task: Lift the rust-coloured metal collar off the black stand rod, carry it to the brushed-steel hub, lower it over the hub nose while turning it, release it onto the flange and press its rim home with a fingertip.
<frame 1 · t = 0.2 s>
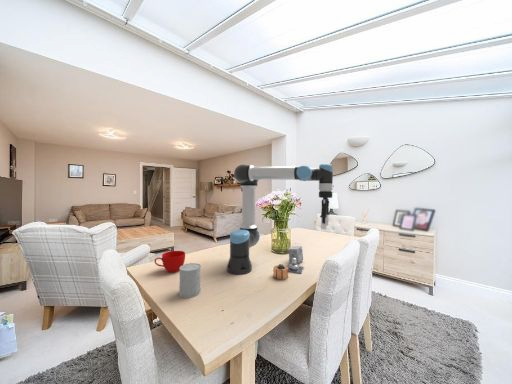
hand: (324, 227, 123), 28 cm above the table, fingers open, 13 cm apart
grey cylinder: (190, 293, 100), on the table
ceramic cup: (170, 271, 126), on the table
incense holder: (295, 262, 144), on the table
hub: (294, 269, 130), on the table
collar: (280, 276, 120), on the table
stand rod: (280, 276, 120), on the table
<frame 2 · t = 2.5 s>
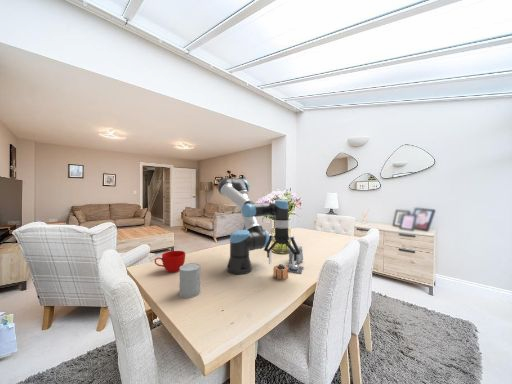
hand: (281, 265, 119), 7 cm above the table, fingers open, 13 cm apart
nothing on the table moved.
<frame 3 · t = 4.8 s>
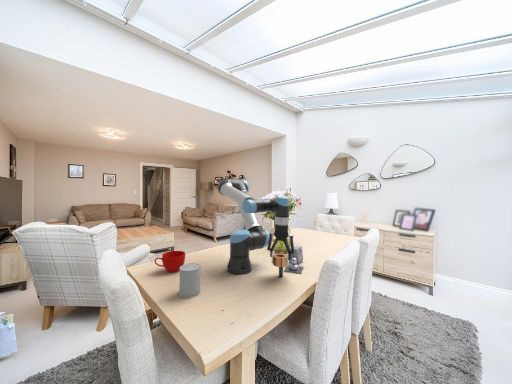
hand: (280, 263, 120), 7 cm above the table, fingers closed on collar, 8 cm apart
collar: (280, 264, 120), point 7 cm above the table, touching gripper
everything else where it was.
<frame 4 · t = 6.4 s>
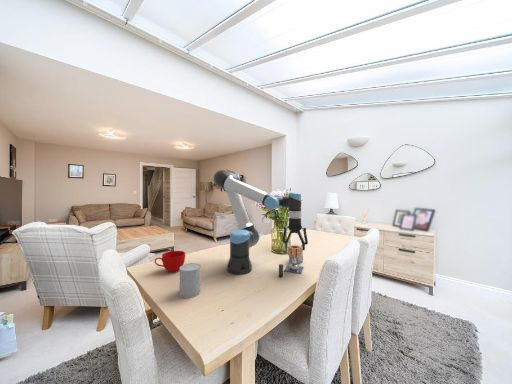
hand: (294, 254, 130), 9 cm above the table, fingers closed on collar, 8 cm apart
collar: (295, 255, 129), point 9 cm above the table, touching gripper
everything else where it was.
when the fingers open (3 cm above the table, at t = 8.2 s): collar stays where it is, resting on hub.
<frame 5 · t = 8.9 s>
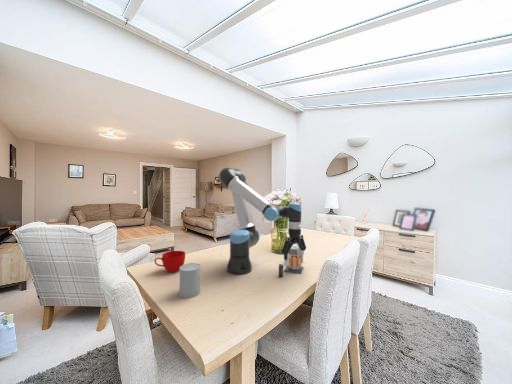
hand: (294, 262, 130), 4 cm above the table, fingers open, 13 cm apart
collar: (294, 264, 130), point 3 cm above the table, touching hub
everything else where it was.
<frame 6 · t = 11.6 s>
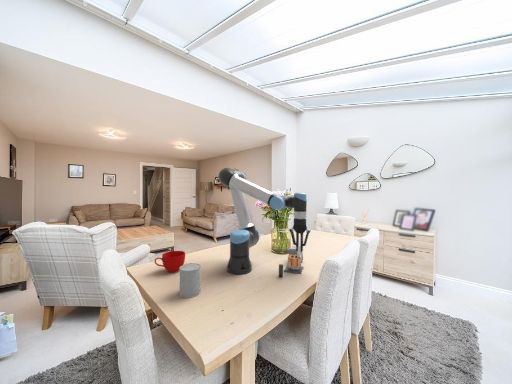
hand: (299, 256, 129), 8 cm above the table, fingers closed
nothing on the table moved.
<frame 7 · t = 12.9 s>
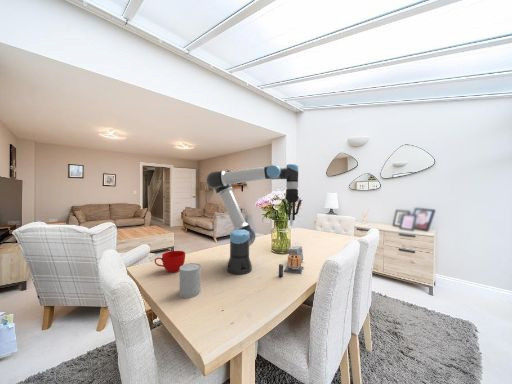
hand: (291, 225, 135), 26 cm above the table, fingers closed
nothing on the table moved.
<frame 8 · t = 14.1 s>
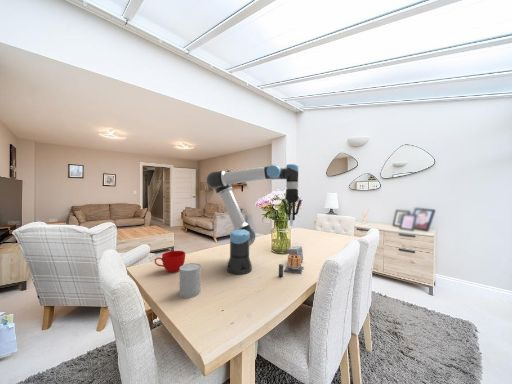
hand: (291, 225, 135), 26 cm above the table, fingers closed
nothing on the table moved.
at the end: collar 0.2 cm off-centre on the hub, point 3.0 cm above the hub's base; collar tilted 0°; the gripper is holding nothing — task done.
